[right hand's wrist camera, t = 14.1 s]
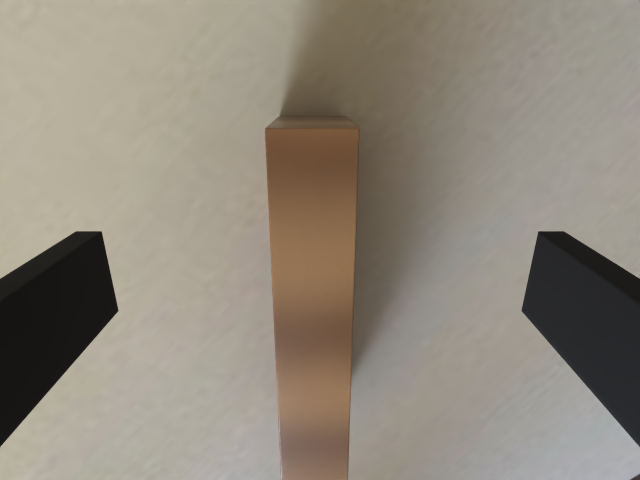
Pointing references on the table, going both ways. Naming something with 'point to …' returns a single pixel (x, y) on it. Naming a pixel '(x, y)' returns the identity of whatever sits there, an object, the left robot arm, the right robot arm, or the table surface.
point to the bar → (313, 288)
